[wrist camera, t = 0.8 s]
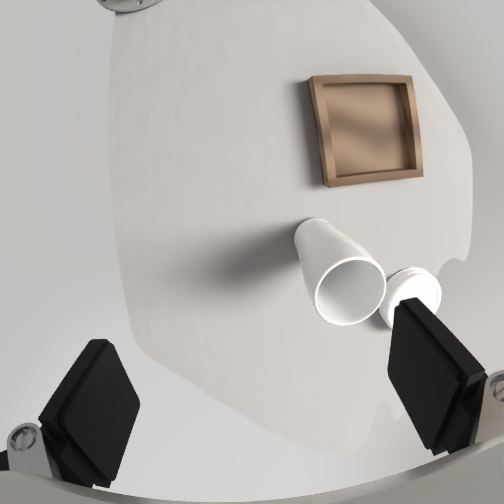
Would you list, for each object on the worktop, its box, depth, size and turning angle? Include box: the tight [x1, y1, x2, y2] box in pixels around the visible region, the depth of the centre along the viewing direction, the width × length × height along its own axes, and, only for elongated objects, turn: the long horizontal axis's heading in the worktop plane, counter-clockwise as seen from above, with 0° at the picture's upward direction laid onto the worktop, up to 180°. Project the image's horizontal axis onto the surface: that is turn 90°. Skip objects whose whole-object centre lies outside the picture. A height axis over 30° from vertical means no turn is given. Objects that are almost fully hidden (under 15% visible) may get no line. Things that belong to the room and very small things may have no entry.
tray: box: [308, 74, 423, 188], centre depth 32 cm, size 13×13×2 cm
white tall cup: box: [294, 218, 386, 326], centre depth 31 cm, size 7×7×15 cm
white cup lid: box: [379, 267, 441, 329], centre depth 41 cm, size 10×10×4 cm
